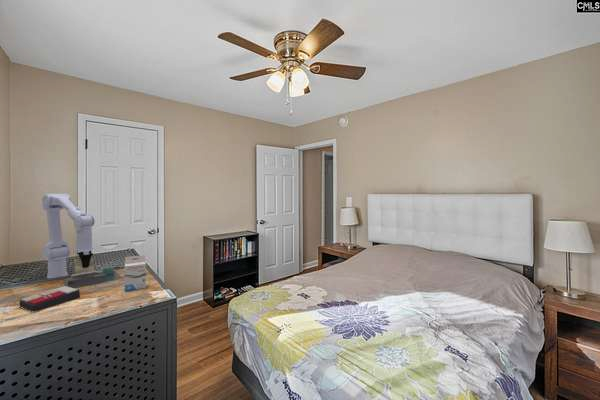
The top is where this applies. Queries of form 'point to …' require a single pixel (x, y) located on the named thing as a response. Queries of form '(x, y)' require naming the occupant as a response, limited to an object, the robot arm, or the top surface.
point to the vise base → (91, 280)
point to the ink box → (135, 273)
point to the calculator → (49, 298)
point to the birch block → (80, 268)
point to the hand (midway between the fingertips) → (85, 266)
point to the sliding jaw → (95, 272)
